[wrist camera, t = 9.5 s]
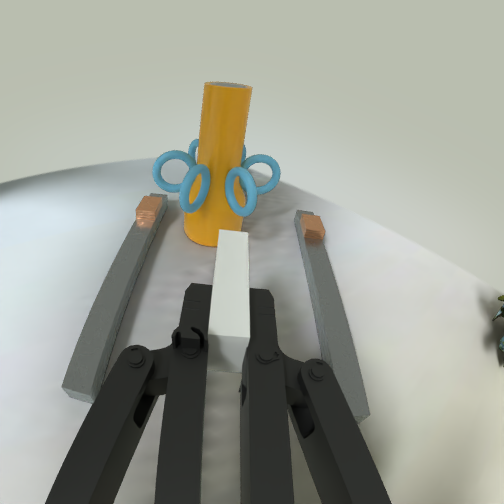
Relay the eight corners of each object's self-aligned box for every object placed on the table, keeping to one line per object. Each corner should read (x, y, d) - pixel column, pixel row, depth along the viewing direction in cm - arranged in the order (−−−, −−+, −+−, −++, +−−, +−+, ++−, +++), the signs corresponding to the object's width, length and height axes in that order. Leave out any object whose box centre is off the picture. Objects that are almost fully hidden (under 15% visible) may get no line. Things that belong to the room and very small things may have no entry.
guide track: (359, 422, 16) (377, 408, 15) (69, 397, 14) (55, 379, 13) (310, 222, 35) (315, 204, 34) (151, 204, 33) (150, 185, 32)
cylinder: (198, 194, 37) (209, 76, 27) (276, 219, 34) (304, 92, 25) (136, 244, 27) (131, 85, 18) (232, 284, 25) (261, 101, 16)
